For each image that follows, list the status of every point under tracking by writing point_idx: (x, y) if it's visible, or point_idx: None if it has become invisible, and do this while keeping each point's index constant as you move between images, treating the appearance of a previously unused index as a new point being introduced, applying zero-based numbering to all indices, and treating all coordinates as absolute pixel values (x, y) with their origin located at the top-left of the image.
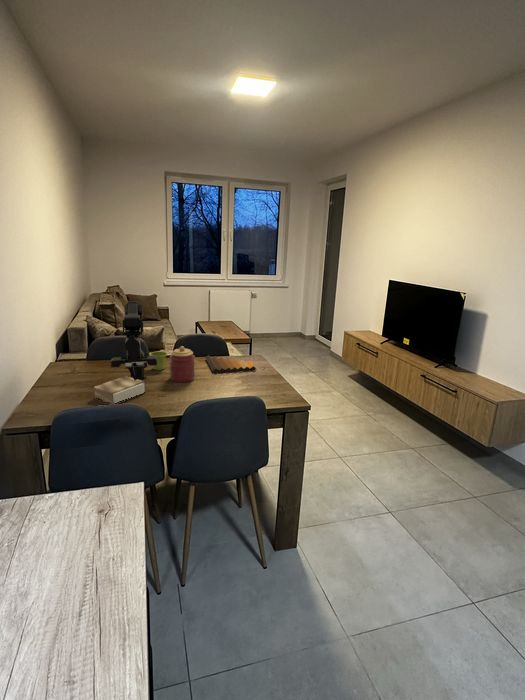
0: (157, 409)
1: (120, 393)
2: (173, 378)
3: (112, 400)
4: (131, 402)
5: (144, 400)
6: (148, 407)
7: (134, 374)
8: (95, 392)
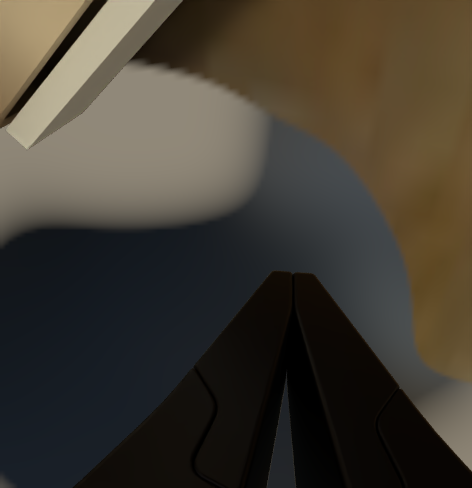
0: (459, 284)
1: (90, 79)
2: None
3: None
4: (241, 75)
5: (389, 45)
6: (393, 231)
7: (271, 448)
8: None
